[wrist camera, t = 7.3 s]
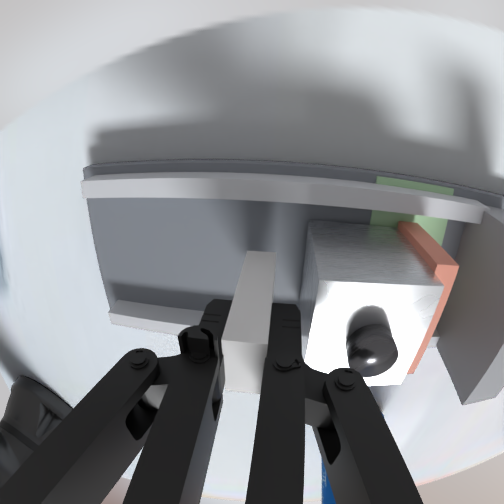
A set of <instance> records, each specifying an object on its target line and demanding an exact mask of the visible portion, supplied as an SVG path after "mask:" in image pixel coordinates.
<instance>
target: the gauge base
mask: <svg viewBox="0 0 504 504" xmlns="http://www.w3.org/2000/svg"><path fill="white" fill-rule="evenodd" d="M83 173H84V180H83V181H81V189H82V196H83V198H87V204H88V211H89V217H90V223H91V229H92V234H93V239H94V244H95V249H96V254H97V259H98V263H99V268H100V272H101V276H102V280H103V284H104V288H105V292H106V296H107V299H108V303H109V306H110V311H109V312H108V314H109V318H110V321H111V324H115V325H120V326H125V327H130V328H136V329H141V330H147V331H153V332H159V333H165V334H171V335H178V334H179V333H180V332H181V331H182V330H183V329H185V328H187V327H190V326H194V325H199V323H200V321H201V318H202V315H203V313H204V310H205V308H206V305H207V304H209V303H210V302H211V301H212V300H213V299H223V300H233V298H234V294H235V291H236V287H237V284H238V281H239V277H240V274H241V270H242V267H243V263H244V260H245V257H246V253H247V251H262V252H276V266H275V282H274V297H273V303H284V304H296V306H297V307H298V309H299V300H300V293H301V285H302V276H303V268H304V259H305V250H306V241H307V231H308V221H309V220H317V221H330V222H342V223H353V224H365V225H375V226H386V227H396V228H397V227H398V222H399V221H405V222H414V223H418V224H419V225H420V226H421V227H422V228H423V229H424V230H425V231H426V232H427V233H428V234H429V235H430V236H431V237H432V238H433V239H434V240H435V241H436V242H437V243H438V244H439V245H440V246H441V247H442V248H443V249H444V250H445V251H446V252H447V253H448V254H449V255H450V256H451V257H452V258H453V260H454V261H455V262H456V263H457V264H458V265H459V269H458V272H457V275H456V278H455V281H454V283H453V286H452V289H451V292H450V294H449V297H448V300H447V302H446V305H445V307H444V310H443V312H442V314H441V317H440V319H439V322H438V324H437V326H436V328H435V331H434V333H433V335H432V337H431V339H430V341H429V344H428V346H427V348H435V347H437V349H438V351H439V353H440V355H441V357H442V359H443V362H444V364H445V366H446V368H447V370H448V373H449V375H450V377H451V380H452V382H453V384H454V387H455V389H456V391H457V394H458V396H459V399H460V401H461V404H462V405H467V404H471V403H476V402H480V401H484V400H488V399H492V398H495V397H496V396H497V395H498V394H499V392H500V391H501V390H502V388H503V387H504V196H503V195H499V194H495V193H491V192H487V191H483V190H479V189H475V188H470V187H466V186H461V185H456V184H452V183H447V182H442V181H436V180H431V179H426V178H420V177H414V176H408V175H402V174H395V173H389V172H382V171H374V170H367V169H358V168H350V167H341V166H331V165H320V164H308V163H295V162H279V161H258V160H219V159H190V160H152V161H132V162H117V163H104V164H93V165H90V166H88V167H85V168H83Z"/></svg>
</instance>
